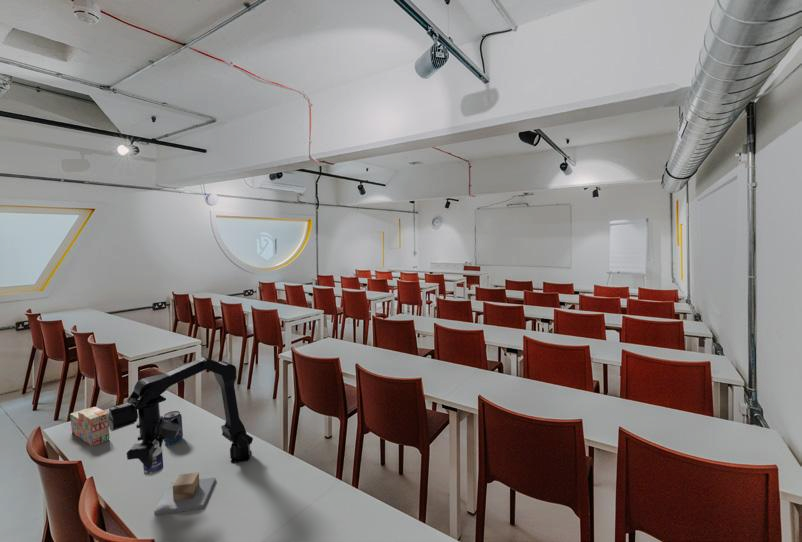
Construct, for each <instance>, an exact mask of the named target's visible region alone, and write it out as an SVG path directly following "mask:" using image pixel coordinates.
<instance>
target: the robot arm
mask: <svg viewBox="0 0 802 542" xmlns="http://www.w3.org/2000/svg"><path fill="white" fill-rule="evenodd" d="M203 371H209V372H212V373H213V375H214V377H215V380H216V381H217V383H218V385H219V388H220V392H221V397H222V403H223V409H224V415H225V416H224V417H225V423H224V425H221V430H222V434H221V435H222V436H223V437H224V438H225V439H226V440H228V441H229V442H230V443H231V444H230V448H229V453H230V454H229V455H230V457H229V458H230V463H239V462H240V463H241V462H247V461H249V459H250V457H251V454H252V450H251V444H252V443H253V441H254V440H253V439H254V437H253V436H251V435H249V433H247V431H246V428H245V425H244V423H243V422H242V420H241V419H240V414H239V407H238V402H237V395H236V394H237V393H236V390H235V389H236V388H235V383H236V380H237V367H236V366H235V365H234V364H233V363H230V362H227V361H224V360H221V361H216V360H213V359H211V358H209V357H208V356H207V357H206V356H201V357H199V358H198V359H195V360H192V361H190V362H188V363H186V364H184V365H181V366H179V367H177V368H174V369H172V370H171V371H168V372H165V373H163V374H157V375H156V374H155V375H152V376H148V377H144V378H141V379H139V380H138V381H136V383H135V385H134V388H133V391H132V393H131V394H130V395H129V397H128V398H127V400H126V403H125V404H121V405H118V406H113V407H110V408H109V410H108V417H107V418H108V424H109V431H111V432H114V431H117V430H119V429H123V428H125V427H129V426H131V425H134V424H135V423H137V422H138V423H137V424H136V429H139V435H138V437H137V441H141V443H140V442H139V443H135V444H133V446H132V447H131V448H130V449H129V450H128V451H127V452H126V460H127V461H128V460H135V459H136V460H137V459H138V460H139V461H140V462H141V463H142V465H143V464H144V465H145V467H146V468H147V469H150V468H151V467H152V457H153V453H154V452H155V450H156V449H157V448H154V443H153V442H154V441H159V447H161V448H162V446H163V442H164V439H165V438H168V439H170V440H173V439H175V438H176V436H177V435H178V433H179V430H180V428H181V426H182V427H183V424H182V425H181V421H180V418H179V417H175V418H174V419H173V420H172V421H170V420H165V421H164V415H163V416H162V415H161V413H160V403H162V402H165V401H167V398H166V397H164V396H163V395H162V394H164V393H165V392H166V391H167V390H168V389H169V388H170V387H172V386H173V385H174V386H175V385H176V384H178V383H180V382H182V381H184V380H187V379H188V378H191V377H194V376H196V375H197V374H199V373H201V372H203Z"/></svg>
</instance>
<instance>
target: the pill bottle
mask: <svg viewBox="0 0 802 542" xmlns="http://www.w3.org/2000/svg"><path fill="white" fill-rule="evenodd" d="M153 443H154V448H157V449H156V450H155V452H154V453H153V457H152V467H151V468H150V469H147V468H146V467H145V465H144V464H143V463H142V466H143V467H142V468H143V474H144V476H145V477H153V476H156V475H159V474H160V473H162V472H163V470H164V460H163V459H164V458H163V456H164V454H163V449H162V448H161V447H159V441H154V442H153Z"/></svg>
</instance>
